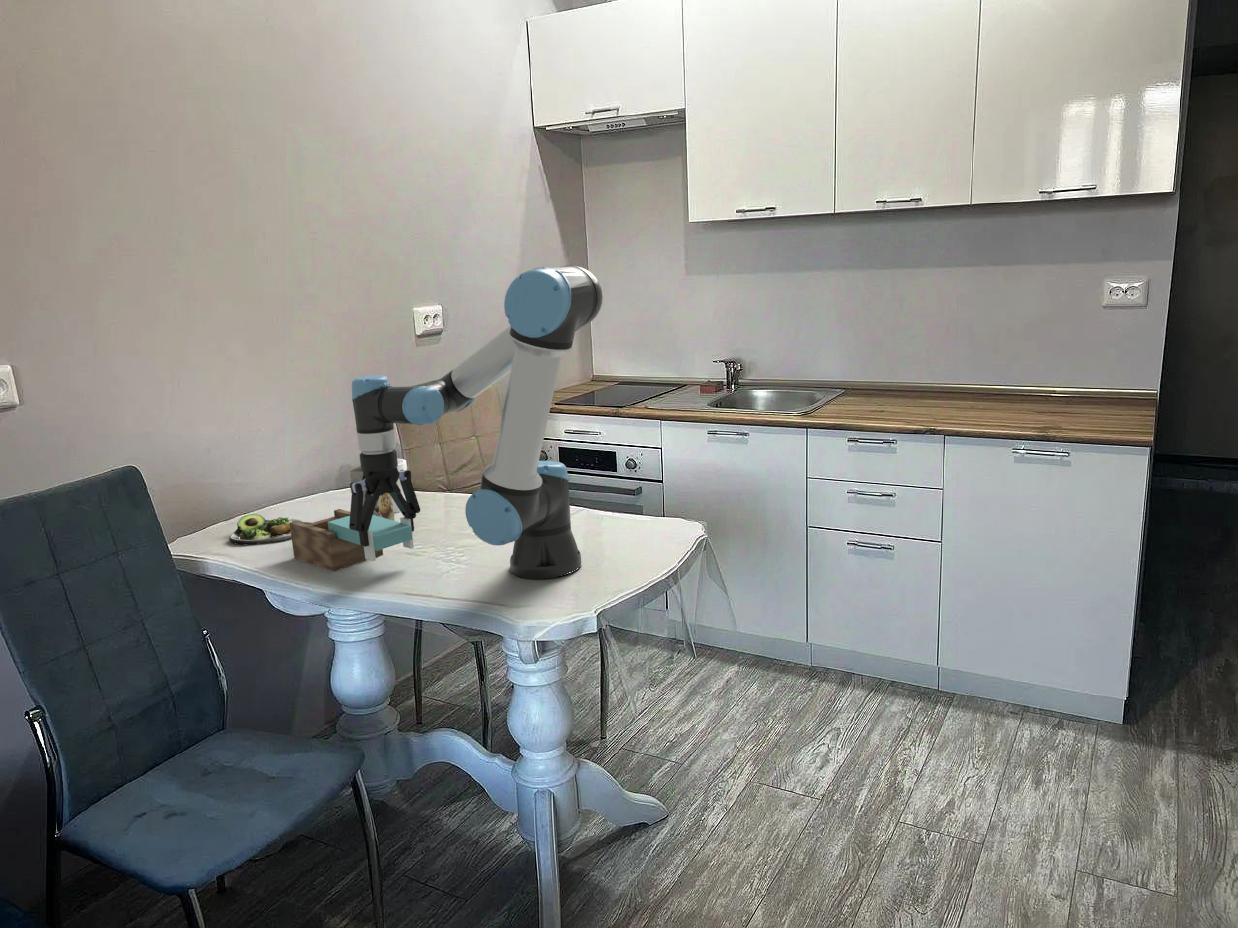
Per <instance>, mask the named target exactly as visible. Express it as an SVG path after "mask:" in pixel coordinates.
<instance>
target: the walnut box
mask: <svg viewBox="0 0 1238 928" xmlns="http://www.w3.org/2000/svg"><path fill="white" fill-rule="evenodd" d="M347 516H350V511H349V510H345V509H341V508H338V509H334V510H333V516H332V517H328V518H325V519H322V520H317V521H314V522H310V524H304V523H301V522H297V521H294V522H290V531H291V543H292V552H293V558H294V559H295V560H298V561H302V562H305V563H308V564H311V565H314V566H316V567H320V568H322V569H326V570H329V571H331V572H336V571H339V570H342V569H344V568H348V567H350V566H354V565H356V564H360V563H363V562H367V560H366V559H365V552H364V546H361V545H359V544H355V543H352V542H349V541H346V540H343V539H340V538H337V537H335V532H332V531H329V529H328V522H329V521H333V520H336V519H340V518H343V517H347ZM381 556H384V549H381V550H378V551H377V550H375V557H376V558H378V557H381Z"/></svg>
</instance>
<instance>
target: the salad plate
mask: <svg viewBox="0 0 1238 928" xmlns="http://www.w3.org/2000/svg"><path fill="white" fill-rule="evenodd" d="M294 521H297V522H301V523H304V524H310V523H311V522H309V521H302V520H301V519H297V518H296V519H295V518H291V519H289V517H281V516H279V517H278V518H273V519H271V520H270V519H265V517H264V516H262V515H260V514H257V513H251V514H245V515H244V516H242V517H241V518H240V519H238V521H237V523H236V525H237V529H235V531H234V532H233V533H232V534H231V535H230V537H229V541H230V542H231V543H233V544H234V543H236V544H235V545H238V544H252V545H258V544H257V543H261V544H269V542H270V543H275V542H282V541H286V540H287V541H288V540H292V538H291V531H290V522H294ZM283 534H287V535H283ZM277 535H281V536H277ZM272 536H274V537H272ZM239 537H240V539H239ZM270 537H271V538H270ZM268 538H269V539H268Z"/></svg>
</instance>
